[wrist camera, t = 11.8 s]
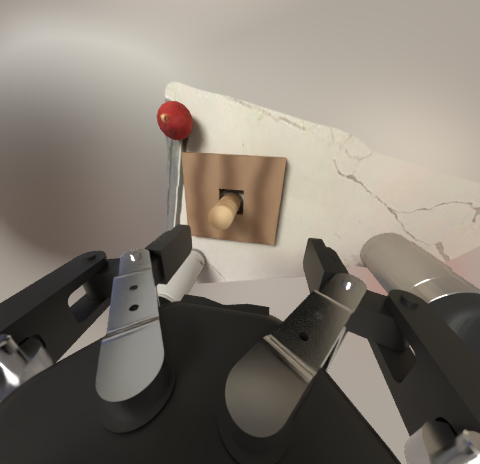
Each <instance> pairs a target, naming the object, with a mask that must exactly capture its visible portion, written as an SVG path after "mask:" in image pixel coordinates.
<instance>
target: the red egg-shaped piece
mask: <svg viewBox="0 0 480 464" xmlns="http://www.w3.org/2000/svg"><path fill="white" fill-rule="evenodd" d="M157 121H158V125H159V127H160V129H161V130H162V132H163V133H164V134H165V135H166V136H168V137H169V138H171V139H173V140H183V139H185V138H187V137H188V136H189V135H190V133H191V131H192V127H193V120H192V116H191V114H190V112H189V110H188V109H187V108H186V107H185V106H184V105H183V104H181V103H179V102H177V101H168V102H166V103H164V104H162V105H161V107H160V108H159V110H158V114H157Z"/></svg>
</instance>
